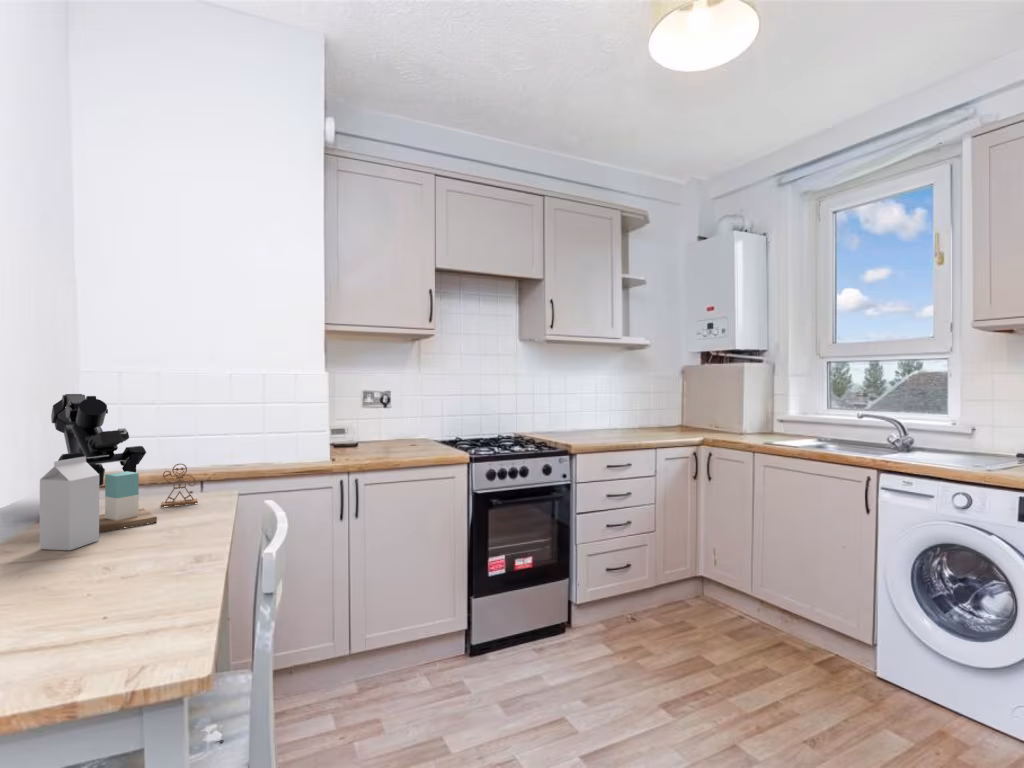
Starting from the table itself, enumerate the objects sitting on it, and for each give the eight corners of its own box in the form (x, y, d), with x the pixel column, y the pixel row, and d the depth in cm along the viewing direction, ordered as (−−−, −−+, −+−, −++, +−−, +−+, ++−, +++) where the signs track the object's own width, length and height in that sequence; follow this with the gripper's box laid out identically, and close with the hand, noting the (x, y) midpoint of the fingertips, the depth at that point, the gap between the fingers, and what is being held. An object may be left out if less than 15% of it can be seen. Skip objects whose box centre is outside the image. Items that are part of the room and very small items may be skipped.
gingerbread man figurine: (197, 501, 154) (197, 461, 154) (197, 504, 151) (198, 463, 151) (161, 505, 149) (161, 463, 149) (161, 508, 146) (161, 465, 146)
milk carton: (99, 541, 116) (99, 457, 116) (69, 551, 109) (69, 462, 109) (70, 539, 117) (71, 456, 117) (39, 550, 110) (39, 461, 110)
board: (86, 523, 130) (86, 517, 130) (143, 514, 139) (143, 508, 139) (97, 532, 122) (97, 526, 122) (156, 522, 131) (156, 516, 131)
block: (105, 518, 129) (105, 474, 129) (127, 513, 134) (127, 471, 134) (116, 520, 127) (116, 476, 127) (138, 515, 132) (138, 473, 132)
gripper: (60, 421, 126) (84, 471, 121) (142, 416, 143) (166, 460, 138) (43, 450, 129) (66, 500, 125) (125, 442, 146) (148, 485, 142)
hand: (115, 485), depth 132 cm, fingers open, 9 cm apart
